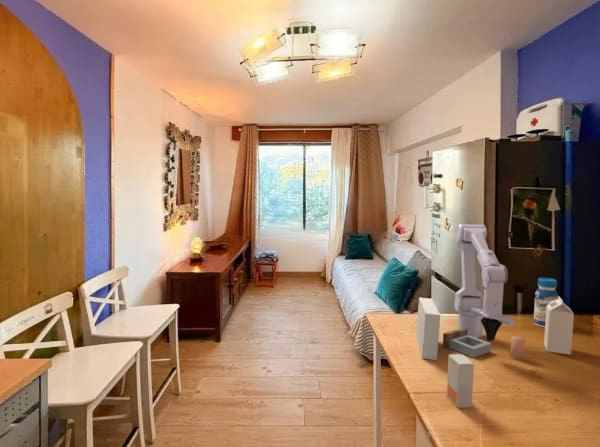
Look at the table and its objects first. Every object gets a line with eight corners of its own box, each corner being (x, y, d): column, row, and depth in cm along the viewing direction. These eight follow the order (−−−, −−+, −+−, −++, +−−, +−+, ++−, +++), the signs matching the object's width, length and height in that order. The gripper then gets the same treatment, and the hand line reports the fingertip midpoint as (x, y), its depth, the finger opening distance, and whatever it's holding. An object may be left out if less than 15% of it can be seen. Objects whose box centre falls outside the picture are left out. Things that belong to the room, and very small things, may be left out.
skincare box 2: (445, 395, 105) (447, 354, 104) (460, 395, 106) (462, 353, 105) (456, 408, 99) (458, 364, 98) (472, 407, 100) (474, 363, 99)
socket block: (466, 342, 143) (466, 334, 143) (491, 351, 135) (491, 343, 134) (448, 347, 138) (449, 339, 138) (473, 357, 129) (474, 349, 129)
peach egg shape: (514, 354, 133) (515, 335, 132) (526, 358, 130) (527, 338, 129) (507, 356, 131) (509, 337, 130) (519, 361, 128) (520, 341, 127)
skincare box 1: (438, 361, 127) (440, 314, 126) (421, 359, 128) (423, 313, 127) (430, 337, 148) (432, 297, 147) (415, 336, 149) (417, 296, 148)
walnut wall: (463, 340, 145) (464, 327, 145) (466, 341, 144) (467, 328, 144) (442, 346, 139) (443, 333, 139) (446, 348, 138) (446, 334, 137)
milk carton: (566, 348, 139) (570, 297, 138) (571, 355, 133) (574, 302, 131) (543, 344, 142) (547, 294, 141) (547, 351, 136) (550, 299, 134)
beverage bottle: (556, 324, 165) (559, 278, 163) (556, 329, 158) (559, 282, 156) (533, 320, 169) (536, 276, 168) (532, 325, 162) (535, 279, 160)
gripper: (466, 297, 132) (464, 335, 133) (507, 308, 120) (504, 350, 121) (478, 294, 136) (476, 331, 137) (519, 305, 123) (517, 345, 125)
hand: (490, 340), depth 129 cm, fingers closed
